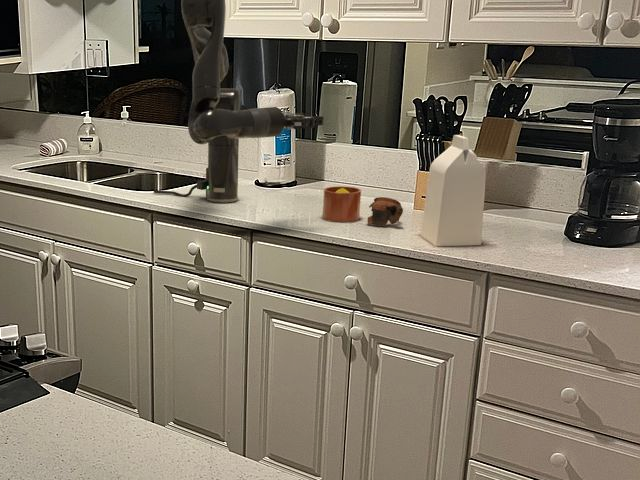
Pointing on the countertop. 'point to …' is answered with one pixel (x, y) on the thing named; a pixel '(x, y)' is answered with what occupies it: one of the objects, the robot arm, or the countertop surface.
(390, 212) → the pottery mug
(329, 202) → the crock
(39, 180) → the countertop surface
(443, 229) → the milk
